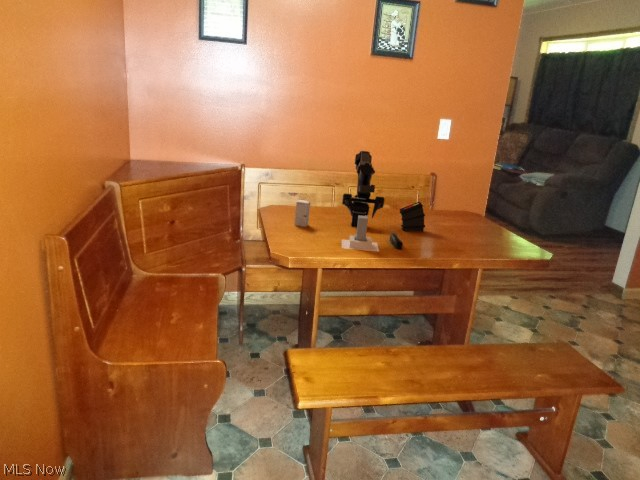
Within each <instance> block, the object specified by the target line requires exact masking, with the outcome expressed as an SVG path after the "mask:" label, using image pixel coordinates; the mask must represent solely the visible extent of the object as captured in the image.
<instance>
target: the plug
mask: <svg viewBox="0 0 640 480" xmlns="http://www.w3.org/2000/svg"><path fill="white" fill-rule="evenodd" d="M368 220H369V215H367V216H366V215H365V216H360V215H358V224H357V227H356V234H355V235H356V240H357V241H365V240H366V237H367V230H368V223H369V221H368Z"/></svg>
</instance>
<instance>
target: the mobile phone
mask: <svg viewBox="0 0 640 480" xmlns="http://www.w3.org/2000/svg"><path fill="white" fill-rule="evenodd" d="M389 242H390V244H391V245H392V246H393V248H394V249H395V250H399V251H402V248H403V245H404V244H403V241H401V239H400V237H399V236H398V234H396V233H395V232H390V235H389Z"/></svg>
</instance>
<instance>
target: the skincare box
mask: <svg viewBox="0 0 640 480" xmlns="http://www.w3.org/2000/svg"><path fill="white" fill-rule="evenodd" d="M310 211H311V201H308V200H303V199H299V200H296V205H295V217H294V225H295V226H299V227H304V228H305V227H307V226H308V225H309V221H310V220H309V219H310Z"/></svg>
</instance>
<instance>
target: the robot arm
mask: <svg viewBox="0 0 640 480" xmlns="http://www.w3.org/2000/svg"><path fill="white" fill-rule="evenodd" d="M372 157H373V156H372V155H371V152H370V151H367V150H360V151H359V153H357V154H355V157H354V165H355V170H356V174H357V185H356V187H357V188H356V194H355V195H354V196H353V194H352V193H347V192H346V193H343V194H342V202H341V203H342V205H344V206H345V207H347V209H348V212H349V214H350V216H351V222H350V226H351V227H352V228H354V227H355V228H357V224H358V215H360V216H369V212H370V204H372V205H373V204H374V205H373V208H372V209H373V210H372V215H371V218H372V219H373V218H374V217H375V214H376V213H377V211H378V210H380V209H382V208H384V204H385V202H386V200H385V197H384V196H375V198H371V195H372V194H371V193H375V192H376V184H371V180H372V178H373V175H374V174H375V173H376V171H375V168H374V166H373V164H372V160H373V159H372Z"/></svg>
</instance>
